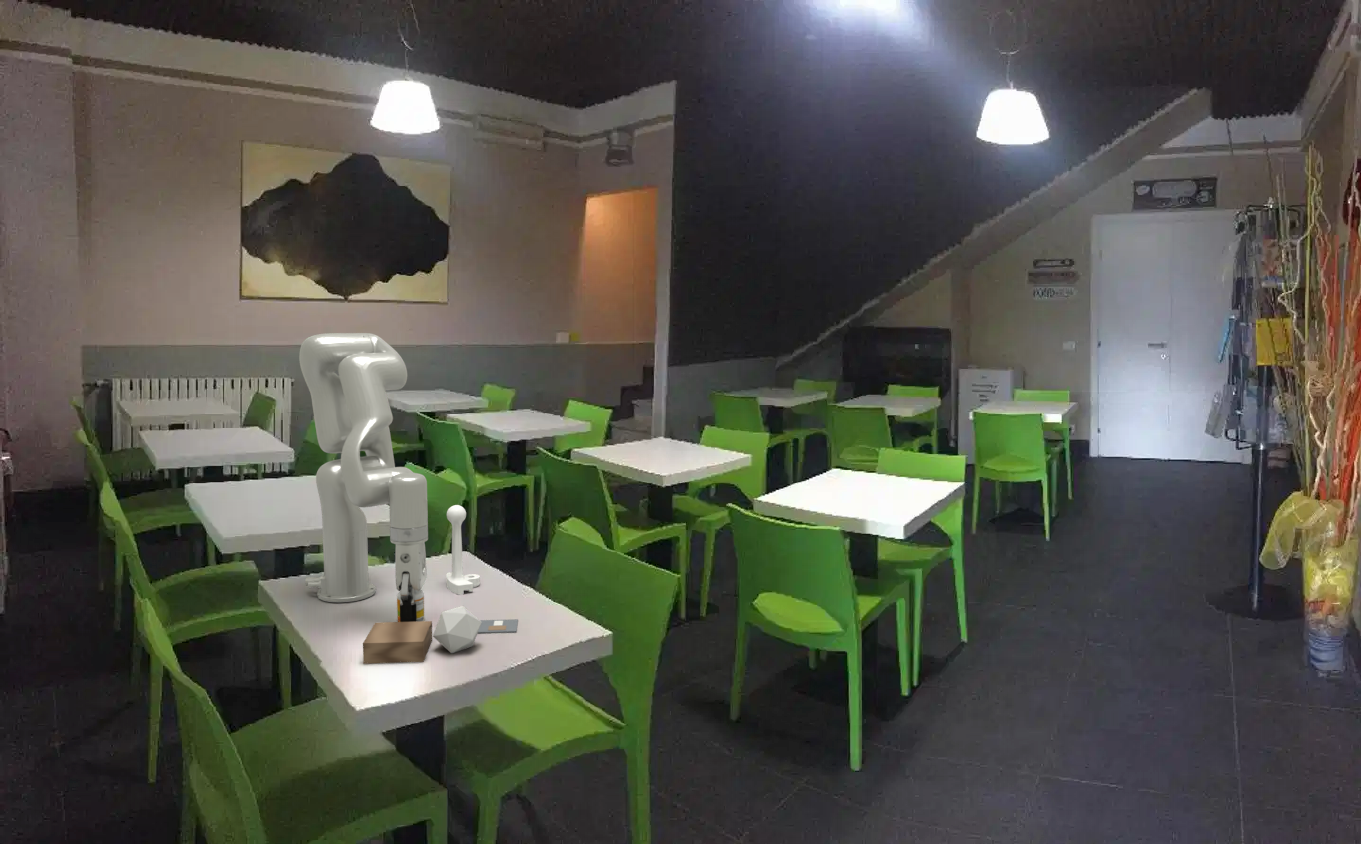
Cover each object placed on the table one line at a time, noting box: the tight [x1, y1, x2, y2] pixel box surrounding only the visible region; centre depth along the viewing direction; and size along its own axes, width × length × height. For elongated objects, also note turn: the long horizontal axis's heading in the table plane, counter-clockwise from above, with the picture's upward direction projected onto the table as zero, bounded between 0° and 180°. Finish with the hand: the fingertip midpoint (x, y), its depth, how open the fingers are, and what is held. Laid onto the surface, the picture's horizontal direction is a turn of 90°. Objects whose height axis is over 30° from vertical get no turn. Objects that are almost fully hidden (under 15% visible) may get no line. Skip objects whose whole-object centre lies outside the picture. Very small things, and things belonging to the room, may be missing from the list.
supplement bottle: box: [396, 587, 426, 622], centre depth 188 cm, size 5×5×10 cm
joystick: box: [445, 504, 481, 596], centre depth 214 cm, size 11×8×20 cm
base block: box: [362, 620, 433, 665], centre depth 174 cm, size 11×11×4 cm
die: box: [432, 605, 482, 654], centre depth 176 cm, size 8×9×10 cm
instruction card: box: [477, 618, 519, 635], centre depth 189 cm, size 8×7×1 cm
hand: (411, 616), depth 188 cm, fingers closed on supplement bottle, 5 cm apart
